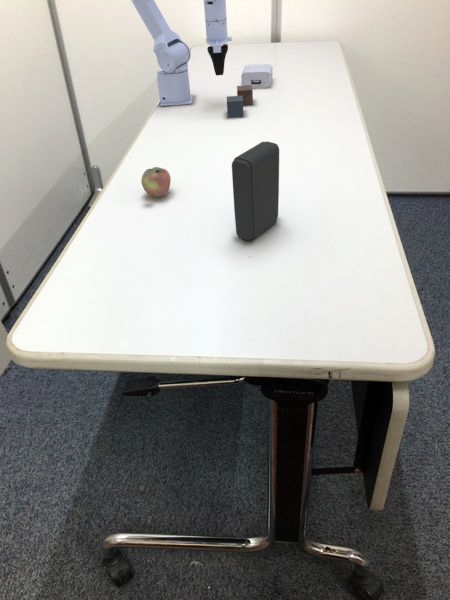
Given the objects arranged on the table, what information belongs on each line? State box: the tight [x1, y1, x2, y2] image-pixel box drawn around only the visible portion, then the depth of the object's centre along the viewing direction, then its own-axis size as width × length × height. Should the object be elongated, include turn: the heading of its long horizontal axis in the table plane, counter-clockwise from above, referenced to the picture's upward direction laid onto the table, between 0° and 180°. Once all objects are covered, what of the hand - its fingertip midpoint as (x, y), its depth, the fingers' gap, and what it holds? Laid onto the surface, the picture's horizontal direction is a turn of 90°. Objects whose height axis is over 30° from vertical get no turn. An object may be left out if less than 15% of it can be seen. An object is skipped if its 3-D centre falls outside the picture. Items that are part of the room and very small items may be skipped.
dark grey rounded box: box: [231, 140, 280, 242], centre depth 80 cm, size 9×4×15 cm, turn 141°
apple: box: [140, 166, 172, 198], centre depth 95 cm, size 6×8×6 cm
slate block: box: [226, 95, 245, 119], centre depth 129 cm, size 4×4×4 cm
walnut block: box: [236, 85, 254, 107], centre depth 135 cm, size 4×4×4 cm
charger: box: [240, 63, 273, 89], centre depth 151 cm, size 5×9×15 cm
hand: (219, 74), depth 132 cm, fingers closed
